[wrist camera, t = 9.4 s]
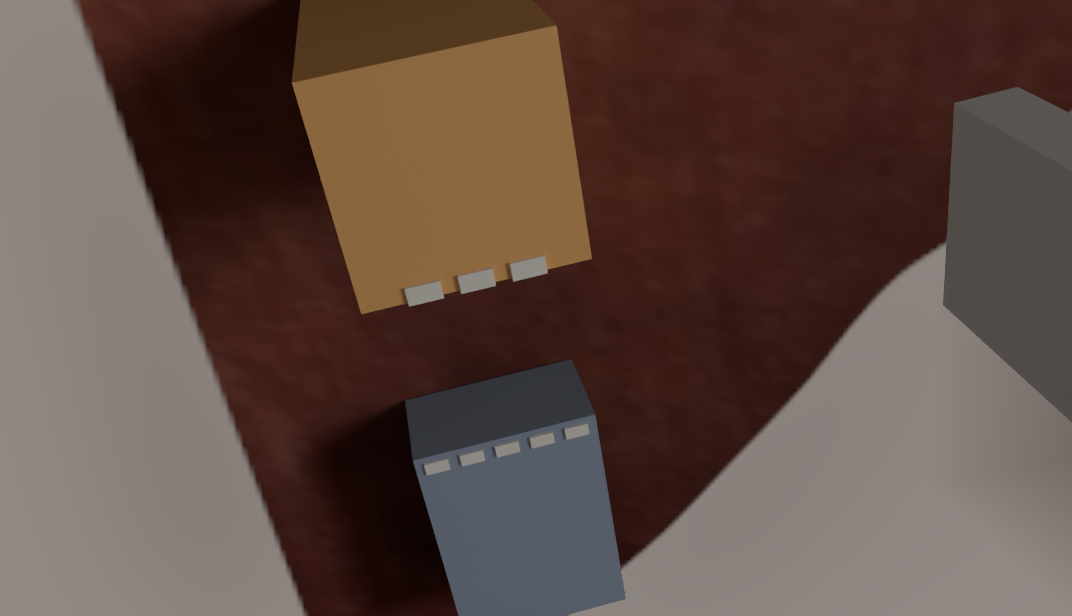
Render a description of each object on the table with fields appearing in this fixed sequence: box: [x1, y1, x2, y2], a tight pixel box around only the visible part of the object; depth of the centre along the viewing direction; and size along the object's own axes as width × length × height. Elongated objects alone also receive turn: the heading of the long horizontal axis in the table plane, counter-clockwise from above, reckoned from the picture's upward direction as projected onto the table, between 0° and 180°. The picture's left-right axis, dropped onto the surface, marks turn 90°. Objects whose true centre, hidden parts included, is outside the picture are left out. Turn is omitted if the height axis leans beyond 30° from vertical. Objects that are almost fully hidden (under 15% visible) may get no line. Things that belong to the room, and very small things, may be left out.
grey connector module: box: [405, 359, 625, 616], centre depth 40 cm, size 10×7×4 cm
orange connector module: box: [292, 0, 592, 314], centre depth 27 cm, size 6×6×11 cm
